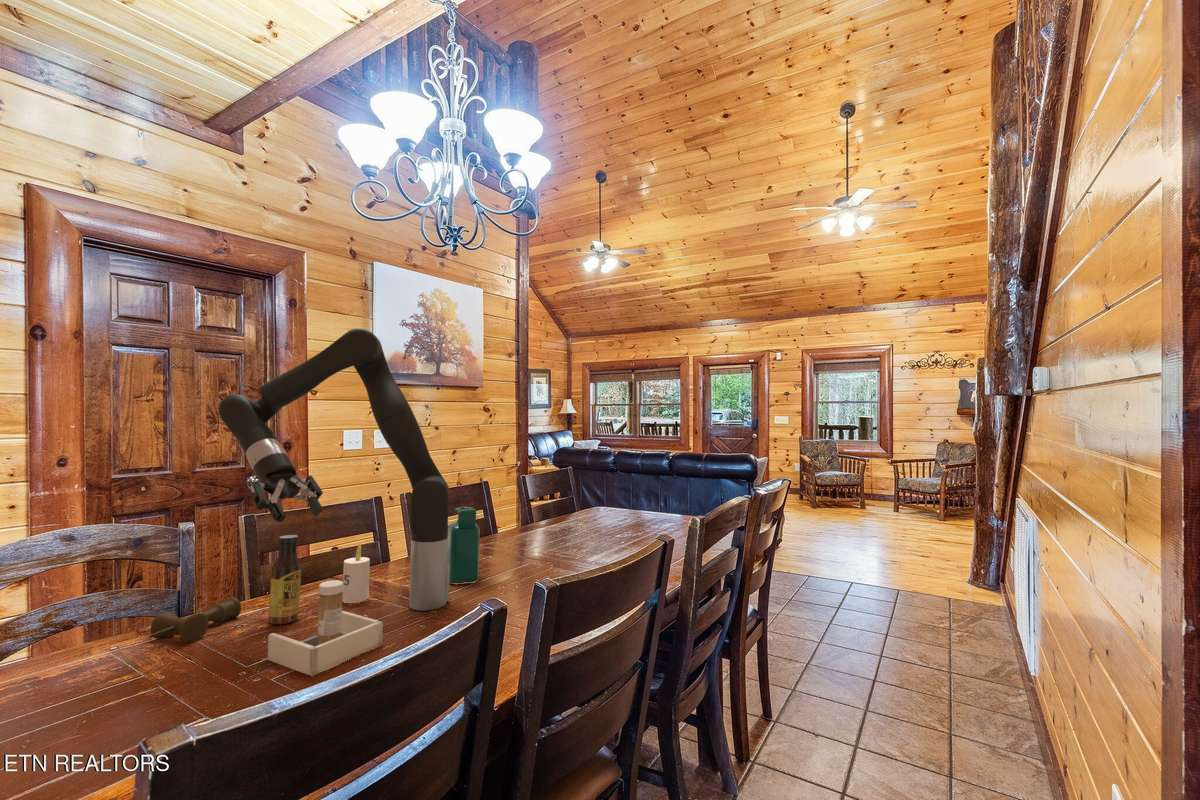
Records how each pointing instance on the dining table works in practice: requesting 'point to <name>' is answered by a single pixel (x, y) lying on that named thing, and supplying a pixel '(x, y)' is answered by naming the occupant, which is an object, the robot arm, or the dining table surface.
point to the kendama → (193, 621)
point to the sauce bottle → (285, 583)
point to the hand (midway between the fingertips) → (300, 516)
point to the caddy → (327, 646)
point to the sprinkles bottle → (330, 610)
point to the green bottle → (463, 547)
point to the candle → (356, 578)
